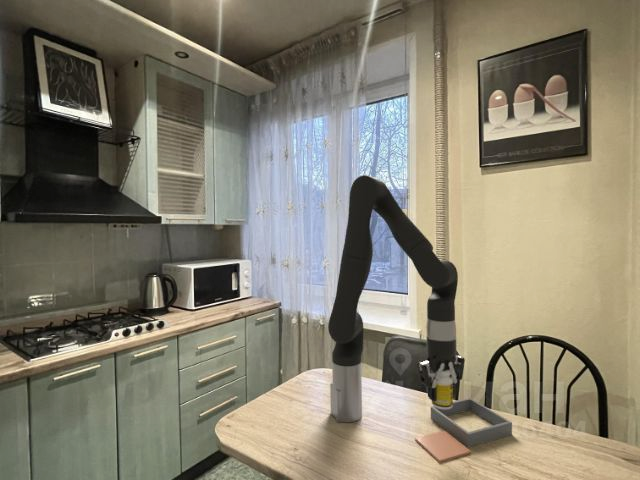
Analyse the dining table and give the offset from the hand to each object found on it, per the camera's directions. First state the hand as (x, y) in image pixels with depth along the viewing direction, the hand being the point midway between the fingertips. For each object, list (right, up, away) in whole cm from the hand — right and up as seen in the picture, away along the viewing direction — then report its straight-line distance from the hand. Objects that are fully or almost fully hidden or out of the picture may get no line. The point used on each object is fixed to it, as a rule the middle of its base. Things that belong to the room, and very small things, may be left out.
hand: (441, 397), depth 92 cm
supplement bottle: (0, -2, 0) cm, 2 cm away
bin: (+12, -13, +10) cm, 20 cm away
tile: (0, -13, 0) cm, 13 cm away
